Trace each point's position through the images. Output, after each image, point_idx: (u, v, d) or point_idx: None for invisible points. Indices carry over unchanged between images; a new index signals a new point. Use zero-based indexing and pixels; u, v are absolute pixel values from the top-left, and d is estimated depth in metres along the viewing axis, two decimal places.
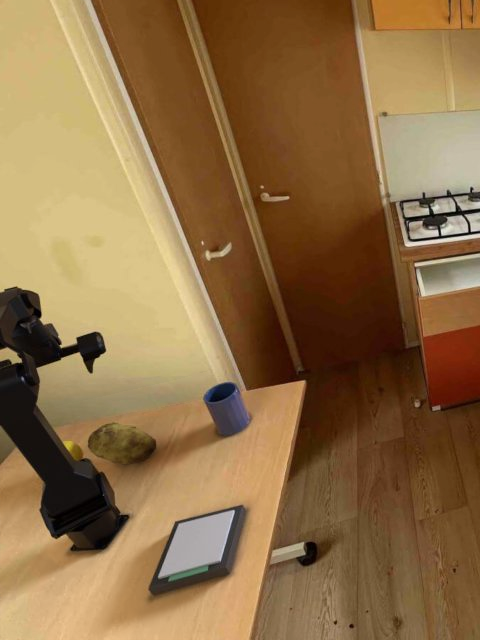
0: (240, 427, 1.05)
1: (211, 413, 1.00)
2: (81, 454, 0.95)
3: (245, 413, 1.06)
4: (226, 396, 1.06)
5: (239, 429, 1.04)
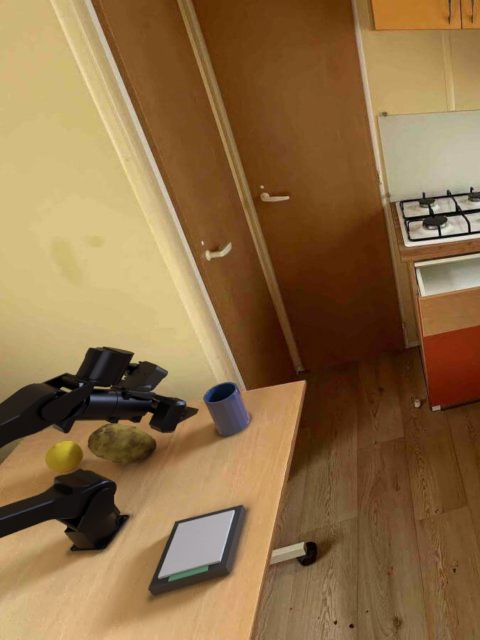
0: (240, 427, 1.05)
1: (211, 413, 1.00)
2: (81, 454, 0.95)
3: (245, 413, 1.06)
4: (226, 396, 1.06)
5: (239, 429, 1.04)
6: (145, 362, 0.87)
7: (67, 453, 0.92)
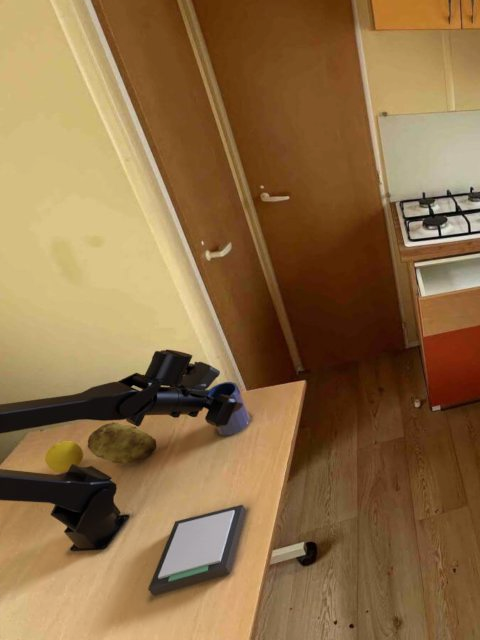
0: (240, 427, 1.05)
1: None
2: (81, 454, 0.95)
3: (245, 413, 1.06)
4: None
5: (239, 429, 1.05)
6: (200, 362, 0.97)
7: (67, 453, 0.92)
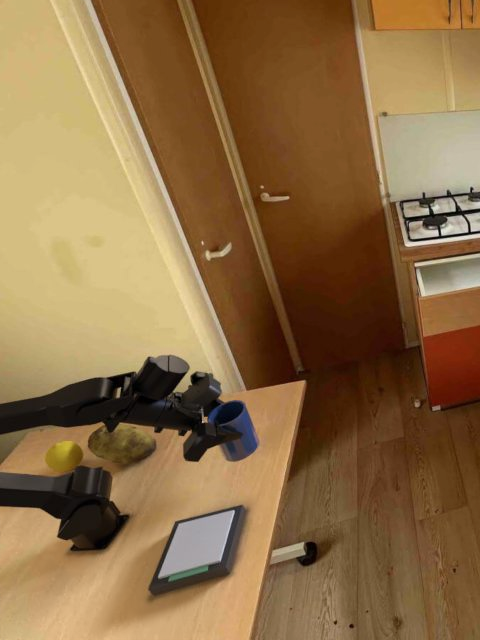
0: (239, 457, 0.91)
1: None
2: (81, 454, 0.95)
3: (248, 443, 0.91)
4: None
5: (237, 459, 0.91)
6: (207, 376, 0.85)
7: (67, 453, 0.92)
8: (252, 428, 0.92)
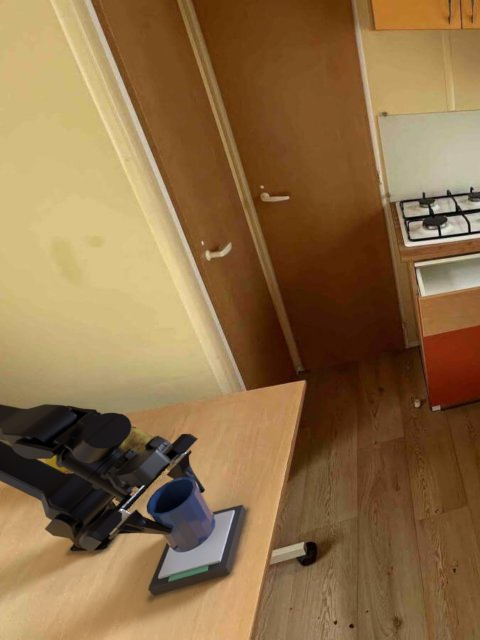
0: (173, 548, 0.75)
1: None
2: None
3: (183, 540, 0.74)
4: None
5: (172, 548, 0.75)
6: (153, 451, 0.70)
7: None
8: (194, 525, 0.74)
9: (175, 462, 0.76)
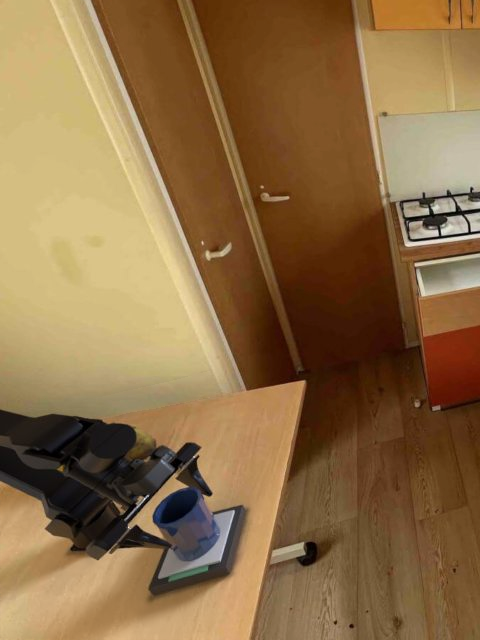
0: (179, 557, 0.76)
1: None
2: None
3: (188, 550, 0.75)
4: None
5: None
6: (158, 461, 0.71)
7: None
8: (198, 534, 0.75)
9: (183, 466, 0.78)
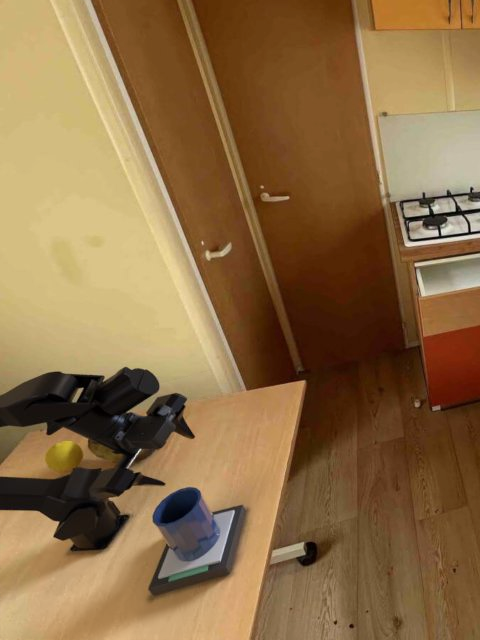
0: (179, 557, 0.76)
1: None
2: (81, 454, 0.95)
3: (188, 550, 0.75)
4: None
5: None
6: (164, 421, 0.76)
7: (67, 453, 0.92)
8: (198, 534, 0.75)
9: None
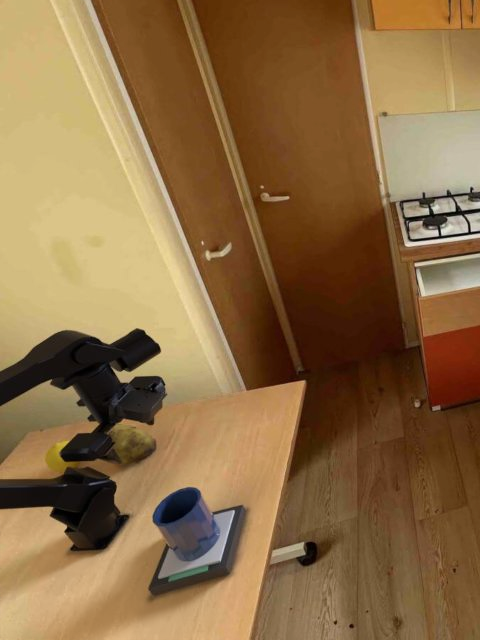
0: (179, 557, 0.76)
1: None
2: None
3: (188, 550, 0.75)
4: None
5: None
6: (159, 397, 0.83)
7: None
8: (198, 534, 0.75)
9: None
